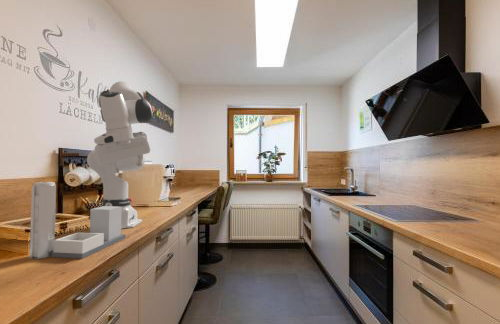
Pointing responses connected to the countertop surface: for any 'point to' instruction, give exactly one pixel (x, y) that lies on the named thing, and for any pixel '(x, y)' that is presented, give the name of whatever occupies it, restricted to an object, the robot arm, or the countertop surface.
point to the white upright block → (42, 219)
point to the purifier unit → (92, 234)
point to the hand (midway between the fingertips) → (128, 169)
